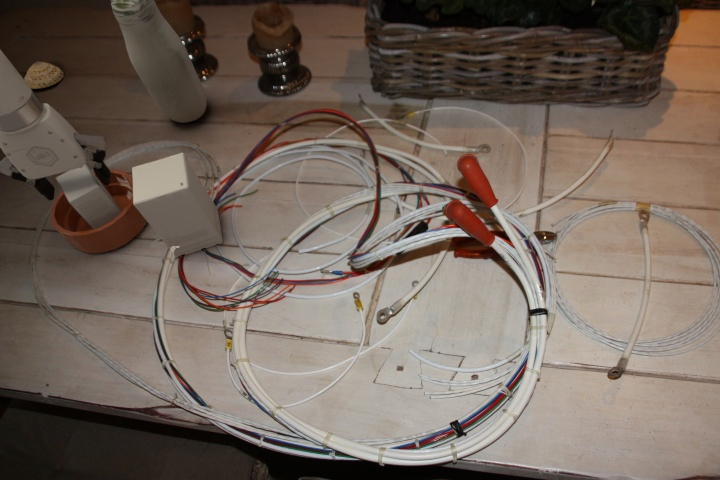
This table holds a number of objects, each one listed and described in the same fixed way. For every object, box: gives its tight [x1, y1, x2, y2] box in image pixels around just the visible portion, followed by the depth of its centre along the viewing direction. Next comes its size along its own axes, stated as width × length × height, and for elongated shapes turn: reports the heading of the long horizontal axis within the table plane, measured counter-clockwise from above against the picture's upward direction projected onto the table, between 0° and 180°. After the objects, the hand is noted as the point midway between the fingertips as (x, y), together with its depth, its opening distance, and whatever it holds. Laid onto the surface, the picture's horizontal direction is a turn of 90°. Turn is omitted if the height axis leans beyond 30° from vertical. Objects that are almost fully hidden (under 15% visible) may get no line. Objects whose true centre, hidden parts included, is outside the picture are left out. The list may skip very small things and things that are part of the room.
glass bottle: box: [110, 0, 208, 123], centre depth 107 cm, size 10×10×28 cm
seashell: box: [23, 61, 65, 90], centre depth 131 cm, size 8×6×8 cm
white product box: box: [131, 152, 224, 257], centre depth 93 cm, size 9×9×15 cm
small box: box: [55, 164, 122, 229], centre depth 98 cm, size 8×6×10 cm
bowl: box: [49, 168, 148, 254], centre depth 101 cm, size 16×16×6 cm
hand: (80, 187), depth 95 cm, fingers open, 9 cm apart
